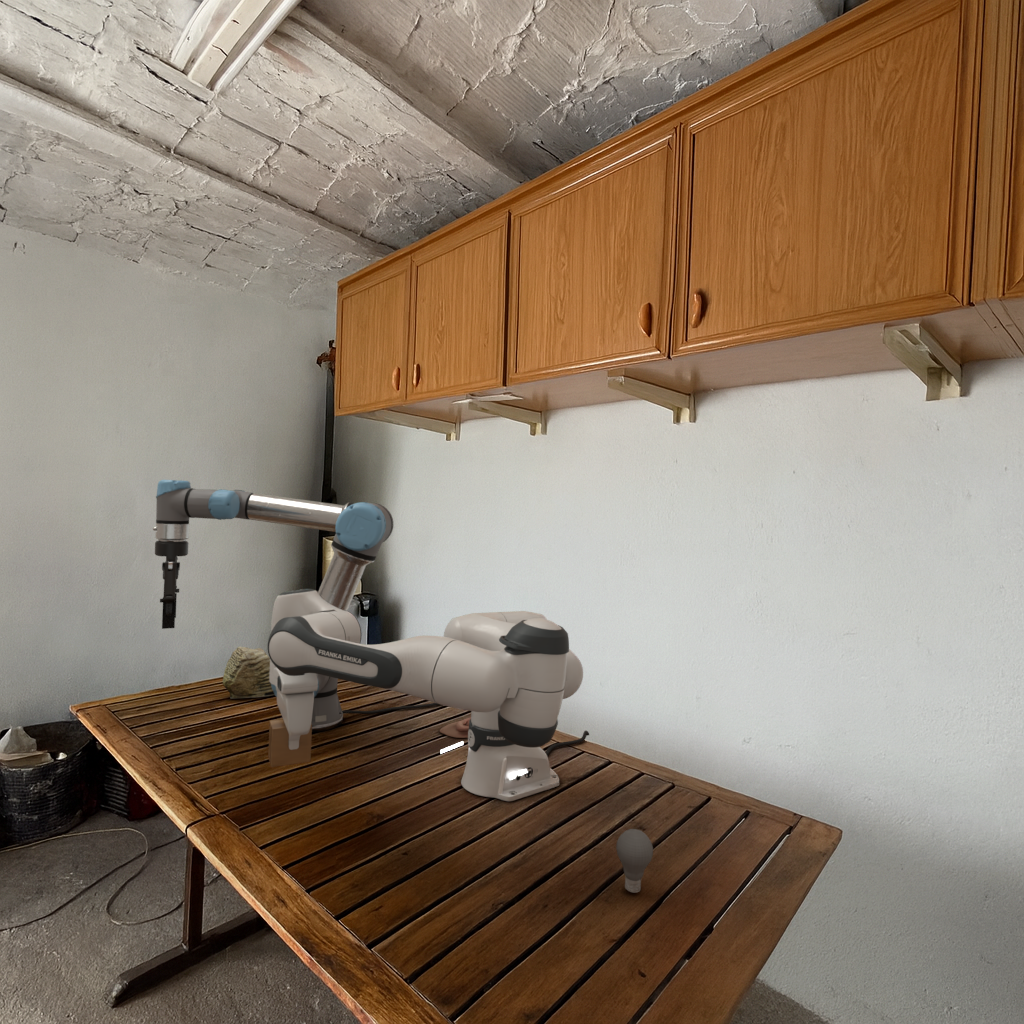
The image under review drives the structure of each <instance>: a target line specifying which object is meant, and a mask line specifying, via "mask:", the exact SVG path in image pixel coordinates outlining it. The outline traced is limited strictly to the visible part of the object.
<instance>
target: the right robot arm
mask: <svg viewBox="0 0 1024 1024" xmlns="http://www.w3.org/2000/svg"><path fill="white" fill-rule="evenodd" d="M362 633H363V632H362V626H361V623H360V622H359V620H358V618H357V617H356V616H355V614H353V613H352V612H351V611H348V610H347V611H346V610H341V609H339V608H337V607H335V606H333V605H331V604H329V603H328V602H326V601H325V600H323V599H322V598H321V596H320V595H319V593H318V590H316V589H313V588H302V589H297V590H296V589H294V590H289V591H283V592H281V593H280V594H278V595H277V596H276V598H275V599H274V604H273V607H272V612H271V624H270V634H269V636H268V639H267V655H268V656H269V658H270V675H269V682H270V683H271V684H273V685H275V686H276V691H277V697H276V705H277V707H278V710H279V712H280V715H281V719H283V720H284V723H285V725H286V728H287V730H288V733H289V738H288V746H289V749H290V750H293V749H298V748H299V739H300V735H305V734H308V733H309V731H310V727H311V721H312V713H313V703H314V692H313V691H317V689H318V679H317V674H321V675H325V676H329V677H333V678H337V679H338V680H342V681H345V682H350V683H354V684H359V685H364V686H369V687H374V688H380V689H384V690H388V691H392V692H397V693H401V694H405V695H409V696H413V697H416V698H419V699H423V700H426V701H429V702H431V703H438V704H441V705H440V706H445V707H448V708H453V709H456V710H457V709H458V710H462V711H467V712H470V717H471V719H470V720H469V730H468V738H467V745H468V751H467V757H466V762H465V767H464V771H463V775H462V776H461V780H460V784H461V786H462V788H463V789H465V790H466V791H467V792H469V793H471V794H474V795H476V796H480V797H486V798H494V799H498V800H501V801H504V802H513V801H517V800H520V799H523V798H526V797H529V796H532V795H535V794H538V793H542V792H544V791H547V790H552V789H553V788H556V787H559V786H560V777H559V775H558V773H556V772H555V771H554V770H553V769H552V768H551V766H550V761H549V757H548V756H549V754H550V753H551V752H552V750H555V749H557V748H559V747H566V746H573V745H578V744H581V743H583V742H584V741H585V740H586V738H587V736H590V733H589V731H588V730H584V731H583V734H582V736H581V737H580V738H578V739H574V740H569V741H562V742H557V743H554V744H551V745H550V746H548V748H547V749H546V750H544V749H543V748H542V747H543V746H545V745H546V744H548V743H550V742H551V740H552V739H553V737H554V735H555V733H556V731H557V728H558V725H559V719H558V717H559V714H560V711H561V708H562V704H563V700H565V699H568V698H570V697H572V696H573V695H574V694H576V693H577V691H578V690H579V689H580V687H581V686H582V683H583V678H584V667H583V664H582V662H581V660H580V658H579V657H578V656H577V655H576V654H575V652H573V651H572V650H571V649H570V640H569V639H570V638H569V633H568V632H567V630H566V628H564V627H563V626H562V625H559V624H557V623H555V622H554V621H552V620H549V619H547V617H546V616H545V615H544V614H542V613H537V612H533V611H528V610H516V611H515V610H513V611H494V612H493V611H492V612H489V611H488V612H471V613H467V614H463V615H459V616H455V617H453V618H451V619H450V620H449V622H448V623H447V624H446V626H445V629H444V632H443V636H441V635H428V634H426V635H425V634H424V635H416V636H411V637H407V638H403V639H399V640H395V641H391V642H385V643H377V644H376V643H375V644H363V643H362ZM461 746H464V741H463V740H462V741H460V742H457V743H455V744H452V745H450V746H447V747H445V748H442V749H440V754H443V753H446V752H448V751H452V750H453V749H456V748H458V747H461Z"/></svg>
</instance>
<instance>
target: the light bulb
mask: <svg viewBox="0 0 1024 1024" xmlns="http://www.w3.org/2000/svg"><path fill="white" fill-rule="evenodd" d="M615 849H616V854H617V857H618V859H619V861H620V863H621V865H622V867H623V873H624V874H623V875H624V876H625V878H624V888H625V890H627V891H628V892H630V893H634V894H635V893H639V892H640V891H641V889H642V887H641V886H642V879H643V877H644V875H645V871H646V868H647V867H648V866H649V864H650V863H651V861H652V859H653V855H654V847H653V843H652V841H651V838H649V836H648V835H647V834H646V833H645V832H643V831H642V830H641V829H636V828H629V829H627V830H625V831H623V832H622V833H621V834H620V835H619V837H618V839H617V841H616V847H615Z"/></svg>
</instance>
